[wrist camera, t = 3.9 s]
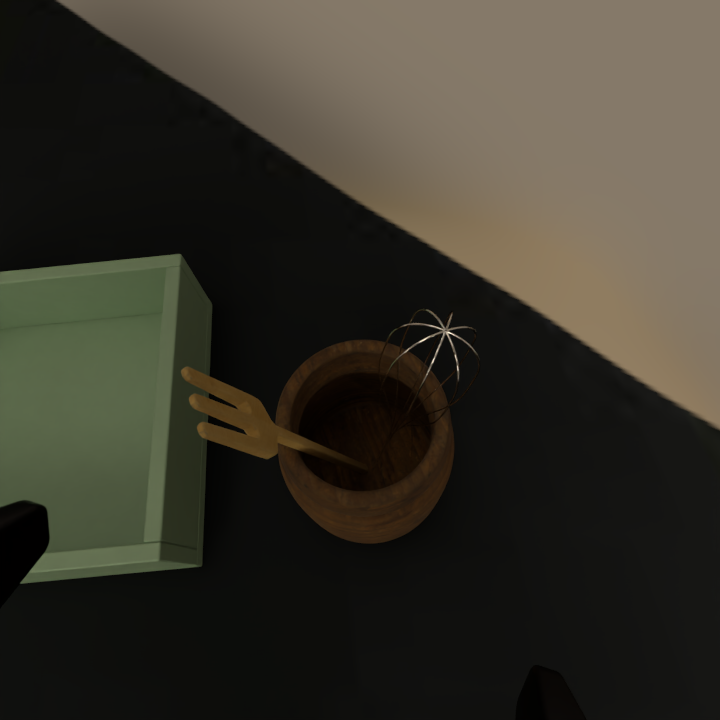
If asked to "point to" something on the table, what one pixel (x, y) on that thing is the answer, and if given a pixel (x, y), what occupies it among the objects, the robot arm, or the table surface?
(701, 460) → the table surface
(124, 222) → the table surface
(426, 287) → the table surface
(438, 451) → the utensil holder
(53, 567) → the tray
